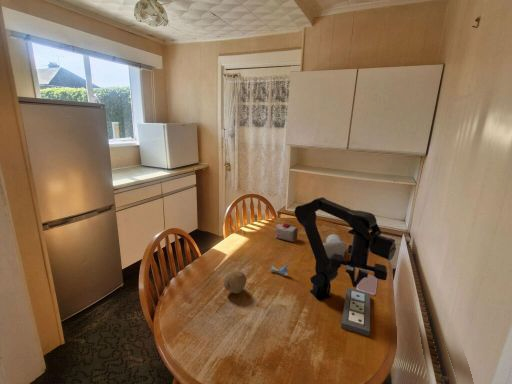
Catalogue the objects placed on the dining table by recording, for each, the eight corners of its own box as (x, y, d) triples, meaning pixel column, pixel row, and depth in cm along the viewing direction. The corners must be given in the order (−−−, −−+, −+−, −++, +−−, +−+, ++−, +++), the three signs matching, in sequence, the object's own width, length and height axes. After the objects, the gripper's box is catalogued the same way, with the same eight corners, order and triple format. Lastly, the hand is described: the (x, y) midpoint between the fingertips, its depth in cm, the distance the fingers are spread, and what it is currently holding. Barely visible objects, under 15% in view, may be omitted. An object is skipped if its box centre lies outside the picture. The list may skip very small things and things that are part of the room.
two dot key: (362, 329, 88) (363, 324, 88) (347, 325, 90) (348, 319, 89) (363, 320, 93) (364, 314, 92) (348, 315, 94) (349, 310, 94)
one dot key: (363, 306, 100) (364, 301, 99) (350, 302, 102) (350, 297, 101) (363, 298, 104) (364, 293, 104) (350, 295, 106) (351, 290, 105)
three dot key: (363, 317, 94) (364, 312, 93) (348, 313, 96) (349, 308, 95) (363, 309, 98) (364, 303, 98) (349, 305, 100) (350, 299, 100)
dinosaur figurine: (283, 279, 121) (270, 267, 123) (298, 263, 115) (284, 250, 117) (281, 282, 119) (268, 269, 121) (296, 265, 113) (282, 253, 115)
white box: (272, 238, 158) (273, 223, 155) (278, 233, 164) (279, 219, 162) (293, 243, 151) (294, 228, 149) (298, 239, 158) (299, 224, 155)
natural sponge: (225, 301, 101) (225, 279, 98) (222, 287, 109) (222, 266, 106) (248, 297, 103) (248, 276, 100) (243, 284, 111) (243, 264, 109)
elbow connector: (350, 264, 128) (344, 246, 147) (348, 245, 125) (342, 229, 145) (314, 267, 132) (313, 249, 151) (311, 248, 129) (310, 232, 148)
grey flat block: (369, 336, 86) (369, 331, 85) (341, 327, 89) (341, 322, 89) (369, 297, 105) (369, 293, 105) (346, 291, 109) (346, 287, 108)
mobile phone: (356, 288, 110) (360, 271, 123) (355, 290, 110) (360, 273, 123) (375, 294, 106) (377, 276, 119) (375, 296, 107) (377, 278, 120)
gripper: (389, 244, 93) (382, 282, 97) (336, 233, 101) (331, 269, 105) (390, 258, 83) (382, 299, 87) (331, 245, 91) (327, 283, 95)
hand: (354, 286), depth 94 cm, fingers closed
